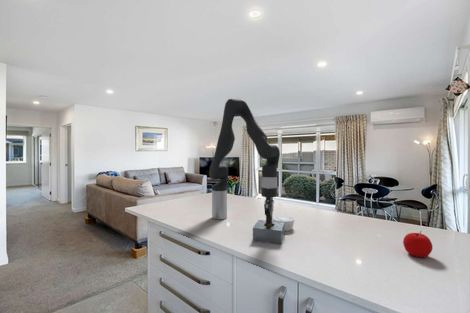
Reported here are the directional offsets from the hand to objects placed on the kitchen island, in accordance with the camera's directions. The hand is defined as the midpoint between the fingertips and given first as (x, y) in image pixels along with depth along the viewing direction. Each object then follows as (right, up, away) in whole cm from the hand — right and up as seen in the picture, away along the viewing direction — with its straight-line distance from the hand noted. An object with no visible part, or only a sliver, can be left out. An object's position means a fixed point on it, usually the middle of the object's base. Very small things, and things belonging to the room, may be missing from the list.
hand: (269, 222), depth 110 cm
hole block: (0, -7, 0) cm, 7 cm away
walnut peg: (0, -3, 0) cm, 3 cm away
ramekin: (+10, -7, +14) cm, 19 cm away
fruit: (+56, -8, -19) cm, 59 cm away
